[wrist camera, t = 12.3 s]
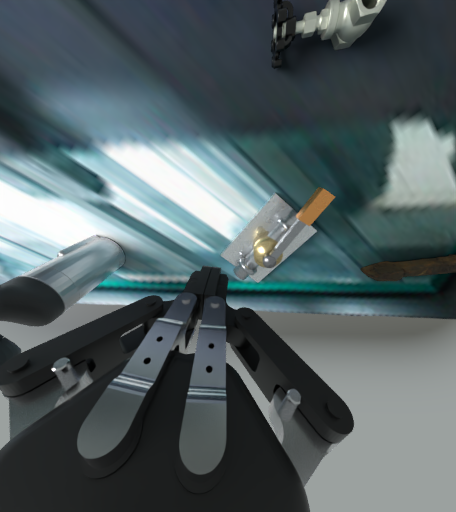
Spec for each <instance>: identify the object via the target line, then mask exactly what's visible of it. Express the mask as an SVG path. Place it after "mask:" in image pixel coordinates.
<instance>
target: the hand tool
mask: <svg viewBox="0 0 456 512" xmlns="http://www.w3.org/2000/svg"><path fill="white" fill-rule="evenodd" d="M361 271H362V272H363V273H365V275H367V276H368V277H370V278H373V279H374V280H377V281H398V280H400V279H402V277H407V276H420V275H432V274H443V273H452V272H456V255H451V254H450V255H449V256H446V257H437V258H431V259H420V260H412V261H403V262H388V261H385V262H379V263H376V264H372V265H369V266H366V267H363V268H361Z"/></svg>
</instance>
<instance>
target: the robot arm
mask: <svg viewBox="0 0 456 512" xmlns="http://www.w3.org/2000/svg"><path fill="white" fill-rule="evenodd" d="M124 262H125V255H124V252H123V250H122V249H121V247H120V246H119V245H118V244H117V243H115V242H114V241H112V240H110V239H108V238H104V237H98V236H96V235H94V236H91V237H89V238H87V239H85V240H83V241H81V242H79V243H76V244H74V245H72V246H70V247H68V248H66V249H63V250H61V251H60V252H59V253H58V256H57V258H55V259H52V260H50V261H48V262H46V263H44V264H42V265H40V266H38V267H36V268H34V269H32V270H30V271H28V272H26V273H24V274H22V275H20V276H18V277H16V278H14V279H12V280H10V281H8V282H6V283H3V284H1V285H0V321H8V322H14V323H19V324H23V325H28V326H44V325H47V324H49V323H51V322H52V321H54V320H55V319H56V318H58V317H59V316H60V315H61V314H62V313H64V312H65V311H66V310H68V309H69V308H70V307H71V306H73V305H74V304H75V303H76V302H77V301H79V300H80V299H81V298H82V297H84V296H85V295H86V294H87V293H89V292H90V291H91V290H92V289H94V288H95V287H96V286H97V285H99V284H100V283H101V282H102V281H104V280H105V279H106V278H107V277H108V276H110V275H111V274H112V273H113V272H115V271H116V270H117V269H119V268H120V267H121V266H122V265H123V264H124ZM220 273H221V268H218V267H210V266H203V267H202V269H201V271H195V272H194V273H192V274H191V276H190V279H189V281H188V283H187V285H186V287H185V289H184V291H183V293H181V294H179V295H178V296H177V297H176V299H175V300H171V301H163V300H162V298H161V297H159V296H155V295H152V296H148V297H145V298H143V299H141V300H138V301H136V302H134V303H132V304H130V305H127V306H125V307H123V308H121V309H118V310H116V311H114V312H112V313H110V314H107V315H105V316H103V317H101V318H98V319H96V320H94V321H92V322H90V323H87V324H85V325H83V326H81V327H78V328H76V329H74V330H72V331H69V332H67V333H65V334H63V335H61V336H58V337H56V338H54V339H52V340H49V341H47V342H45V343H43V344H40V345H38V346H36V347H34V348H32V349H29V350H27V351H25V352H23V353H21V349H20V348H19V347H18V346H17V345H16V344H15V343H13V342H11V341H10V340H8V339H7V338H3V336H2V335H0V390H1V391H2V394H3V395H4V397H6V398H7V399H8V400H9V417H10V441H9V442H8V443H7V444H6V445H5V446H4V447H3V448H2V449H1V450H0V512H310V509H309V504H308V500H307V496H306V492H305V489H304V486H305V485H306V483H307V482H308V480H309V479H310V477H311V476H312V474H313V473H314V471H315V469H316V468H317V466H318V465H319V463H320V461H321V460H322V459H323V457H324V456H325V455H327V454H328V453H329V452H330V451H331V450H332V449H333V448H334V447H335V446H336V445H337V444H339V443H340V442H341V441H342V440H343V439H344V438H345V437H346V436H347V435H348V434H349V433H350V432H352V430H353V427H354V420H353V416H352V414H351V412H350V410H349V408H348V406H347V405H346V404H345V402H344V401H343V400H342V399H341V398H340V397H339V396H338V395H337V394H336V393H335V392H334V391H333V390H332V389H331V388H330V387H329V386H328V385H327V384H326V383H325V382H324V381H323V380H322V379H321V378H320V377H319V376H318V375H317V374H316V373H315V372H314V371H313V370H312V369H311V368H310V367H309V366H308V365H307V364H306V363H305V362H304V361H303V360H302V359H301V358H300V357H299V356H298V355H297V354H296V353H295V352H294V351H293V350H292V349H291V348H290V347H289V346H288V345H287V344H286V343H285V342H284V341H283V340H282V339H281V338H280V337H279V336H278V335H277V334H276V333H275V332H274V331H273V330H272V329H271V328H270V327H269V326H268V325H267V324H266V323H265V322H264V321H263V320H262V319H261V318H260V317H259V316H258V315H257V314H256V313H255V312H254V311H253V310H252V309H249V308H245V307H244V308H239V309H238V310H235V309H233V308H231V307H229V306H228V304H227V303H226V294H227V286H228V277H227V275H226V274H220ZM198 319H200V320H202V321H201V325H200V328H199V333H198V339H197V345H196V351H195V353H193V354H187V351H188V348H189V346H190V343H191V340H192V338H193V335H194V332H195V330H196V324H197V321H198ZM140 324H142V326H140V327H139V328H137V329H135V330H133V331H131V332H130V333H128V334H126V335H124V336H122V334H124V333H125V332H127V331H129V330H131V329H133V328H134V327H136V326H138V325H140ZM121 336H122V337H121ZM226 342H228V343H230V345H231V348H232V349H233V351H234V352H235V354H236V355H237V357H238V358H239V359H240V361H241V362H242V363H243V365H244V367H245V368H246V369H247V371H248V372H249V374H250V375H251V377H252V378H253V379H254V381H255V382H256V384H257V385H258V387H259V388H260V390H261V391H262V392H263V394H264V395H265V397H266V398H267V399H268V401H269V402H270V405H269V418H270V421H271V423H272V425H273V427H274V429H275V432H276V435H275V433H274V432H273V430H272V428H271V427H270V425H269V423H268V422H267V420H266V419H265V417H264V415H263V413H262V412H261V410H260V409H259V407H258V405H257V404H256V402H255V400H254V398H253V397H252V395H251V393H250V392H249V390H248V389H247V387H246V385H245V384H244V382H243V380H242V379H241V377H240V376H239V374H238V373H237V371H236V370H235V369H234V368H233V367H232V366H230V365H229V364H228V363H226ZM276 436H277V437H276Z"/></svg>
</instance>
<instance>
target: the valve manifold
mask: <svg viewBox="0 0 456 512" xmlns="http://www.w3.org/2000/svg"><path fill="white" fill-rule="evenodd" d="M297 214H298V213H297V212H296V211H295V210H294V209H292V208H291V207H290V206H289V205H288V204H287V203H286V202H285V201H284V200H283V199H281V198H280V197H279V196H278V195H277V194H276V193H275V192H274V193H273V194H272V196H271V197H270V198H269V199H268V200H267V201H266V202H265V204H264V205H263V206H262V207H261V208H260V209H259V210H258V212H257V213H256V214H255V215H254V216H253V217H252V218H251V219H250V221H249V222H248V223H247V224H246V225H245V226H244V227H243V229H242V230H241V231H240V232H239V233H238V234H237V235H236V237H235V238H234V239H233V240H232V241H231V242H230V243H229V245H228V246H227V247H226V248H225V249H224V250H223V251H222V252H221V256H222V257H223V258H225V259H226V260H227V261H229V262H230V263H232V264H233V265H234V266H236V267H235V268H234V273H235V274H236V276H237V277H238V278H240V279H242V280H245V279H246V278H247V277H248V276H249V277H251V278H252V279H254V280H255V281H256V282H260V281H261V280H262V279H263V278H264V277H265V276H266V275H268V274H269V273H270V272H271V271H272V270H273V269H274V268H276V267H277V266H278V265H279V264H280V263H281V262H283V261H284V260H285V259H286V258H287V257H288V256H289V255H291V254H292V253H293V252H294V251H295V250H296V249H297V248H299V247H300V246H301V245H302V244H303V243H304V242H305V241H307V240H308V239H309V238H310V237H311V236H312V235H313V234H315V233H316V232H317V230H316V229H314V228H313V227H312V226H311V225H310V226H308V225H306V226H305V227H304V228H303V229H302V230H301V232H300V233H299V234H298V235H297V236H296V237H295V239H294V240H293V241H292V242H291V243H290V244H289V246H288V247H287V248H286V249H285V250H284V251H283V253H282V254H281V255H280V256H279V257H278V258H277V260H276V261H277V263H276V265H275V267H273V268H266V267H265V266H264V265H263V260H262V259H263V256H264V255H265V254H268V253H270V252H271V251H272V250H273V248H274V247H275V246H276V245H277V243H278V242H279V241H280V240H281V239H282V237H283V236H284V235H285V234H286V232H287V231H288V230H289V229H290V227H291V226H292V225H293V224H294V223H295V221H296V220H297V219H298V218H297V217H296V215H297Z"/></svg>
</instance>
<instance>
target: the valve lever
mask: <svg viewBox="0 0 456 512" xmlns="http://www.w3.org/2000/svg"><path fill="white" fill-rule="evenodd" d="M334 198H335V196H333V195H332V194H330V193H329V192H328V191H326V190H325V189H323V188H320V187H318V189H317V190H316V191H315V192H314V194H313V195H312V196H311V197H310V199H309V200H308V201H307V202H306V204H305V205H304V206H303V207H302V209H301V210H300V211H299V213H298V214H297V215H296V217H297V218H298V219H297V220H296V221H295V223H294V224H293V225H292V226H291V227H290V229H289V230H288V231H287V232H286V234H285V235H284V236H283V237H282V239H281V240H280V241H279V242H278V243H277V245H276V246H275V247H274V248H273V250H272V251H271V252H270V253H268V254H265V255H264V256H263V259H262V260H263V265H264V266H265V267H266V268H273V267H275V265H276V263H277V261H276V260H277V258H278V257H279V256H280V255H281V254H282V253H283V251H284V250H285V249H286V248H287V247H288V246H289V244H290V243H291V242H292V241H293V240H294V239H295V237H296V236H297V235H298V234H299V233H300V232H301V230H302V229H303V228H304V227H305V226H306V225H308V226H310V225H311V224H312V223H313V222H314V221H315V220H316V218H317V217H318V216H319V215H320V214H321V213H322V212H323V210H324V209H325V208H326V207H327V206H328V205H329V203H330V202H331V201H332V200H333V199H334Z"/></svg>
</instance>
